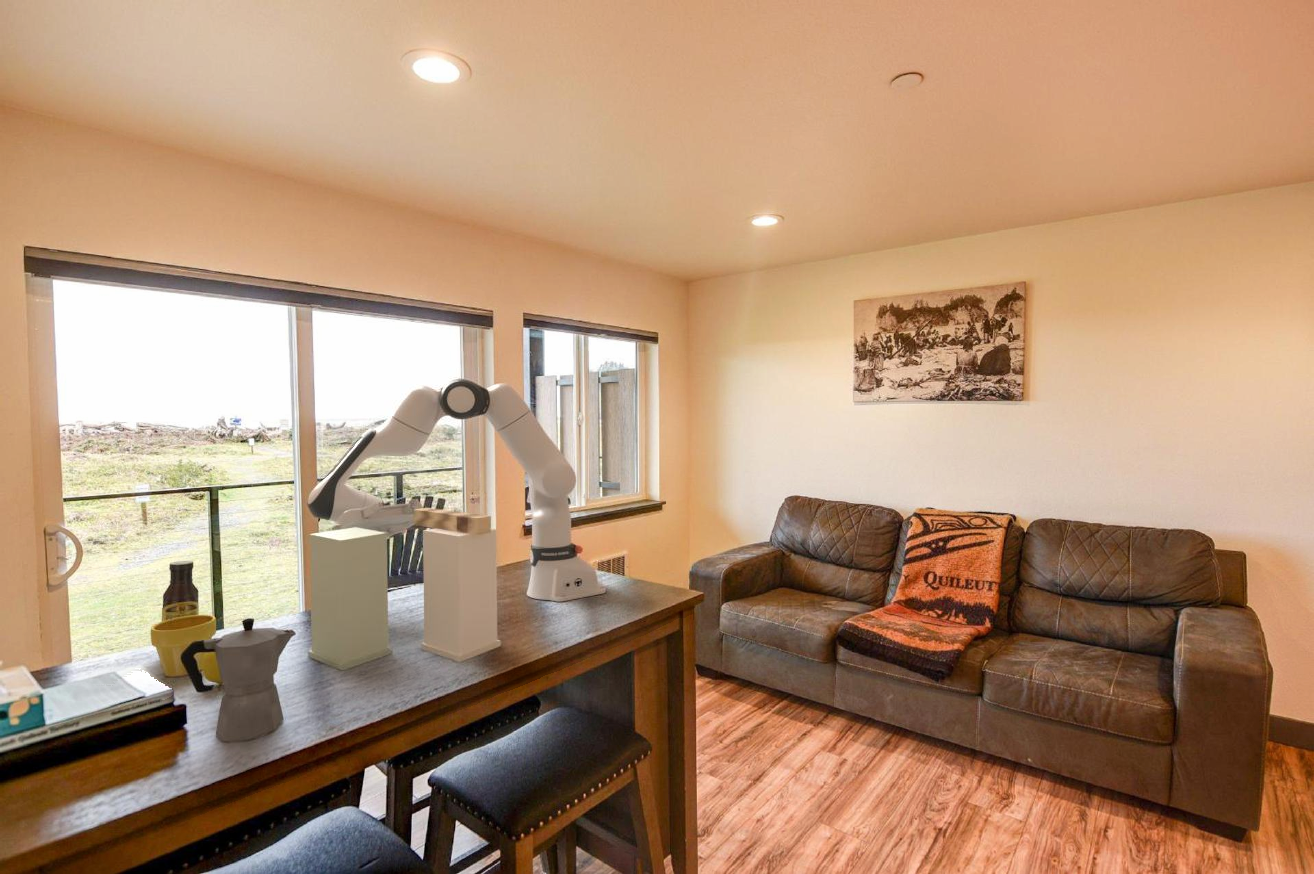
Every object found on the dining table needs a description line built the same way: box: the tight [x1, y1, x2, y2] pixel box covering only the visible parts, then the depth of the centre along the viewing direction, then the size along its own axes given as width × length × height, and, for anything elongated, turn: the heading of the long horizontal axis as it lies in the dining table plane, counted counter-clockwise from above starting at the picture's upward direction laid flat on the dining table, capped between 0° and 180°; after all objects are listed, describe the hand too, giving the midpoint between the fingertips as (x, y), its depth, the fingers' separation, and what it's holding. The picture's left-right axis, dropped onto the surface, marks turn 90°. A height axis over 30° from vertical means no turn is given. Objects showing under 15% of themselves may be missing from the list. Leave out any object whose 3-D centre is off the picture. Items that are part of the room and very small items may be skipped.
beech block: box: [413, 507, 492, 535], centre depth 137 cm, size 22×4×4 cm, turn 56°
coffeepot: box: [181, 618, 297, 743], centre depth 100 cm, size 15×9×18 cm, turn 122°
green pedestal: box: [307, 527, 393, 671], centre depth 132 cm, size 13×11×26 cm
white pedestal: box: [420, 527, 502, 663], centre depth 136 cm, size 13×11×26 cm
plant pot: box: [150, 614, 217, 678], centre depth 124 cm, size 10×10×10 cm
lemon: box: [201, 652, 224, 686], centre depth 118 cm, size 6×6×8 cm
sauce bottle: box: [161, 560, 200, 622], centre depth 132 cm, size 7×6×20 cm
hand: (398, 503), depth 148 cm, fingers open, 8 cm apart
